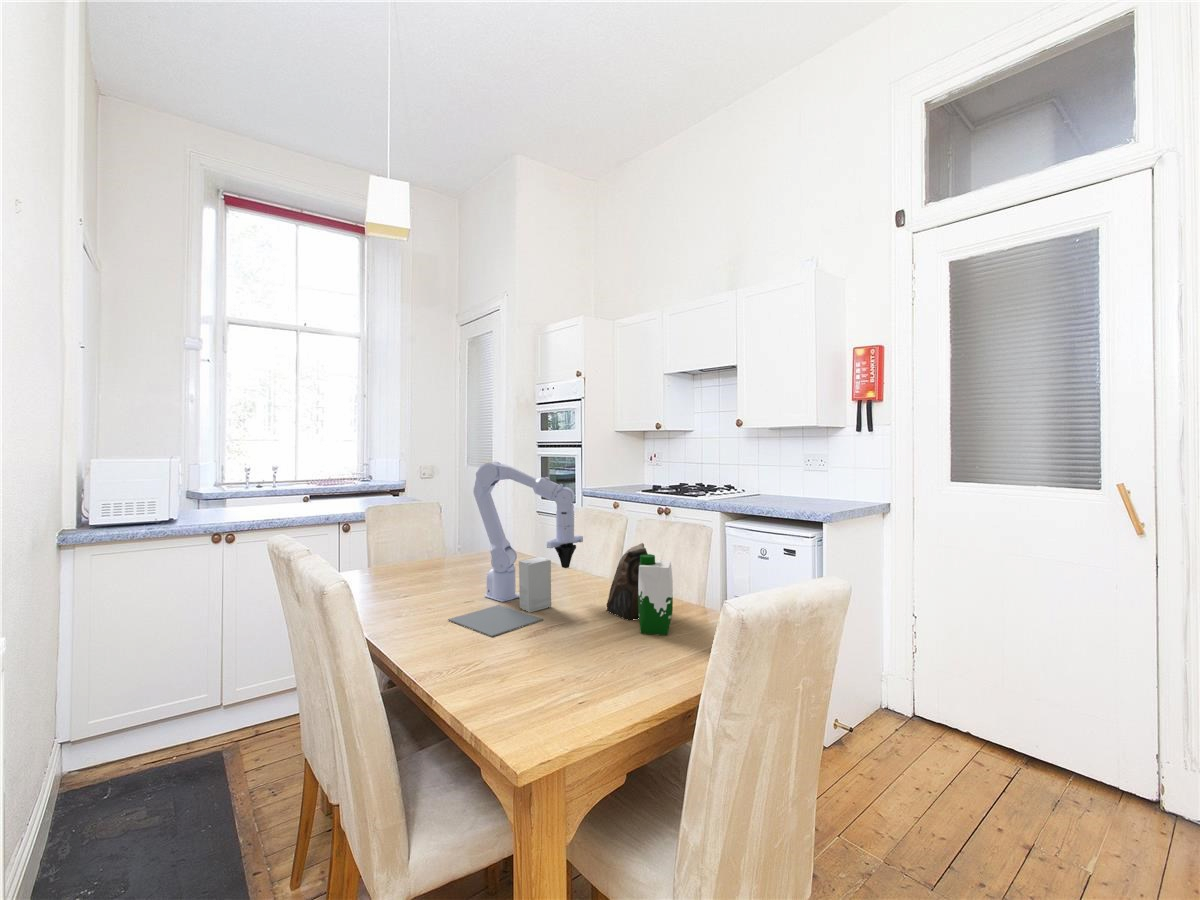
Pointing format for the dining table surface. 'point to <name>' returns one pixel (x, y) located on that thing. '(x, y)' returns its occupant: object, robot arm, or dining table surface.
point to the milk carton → (655, 595)
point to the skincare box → (535, 584)
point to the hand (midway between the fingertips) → (565, 567)
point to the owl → (626, 585)
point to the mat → (495, 620)
